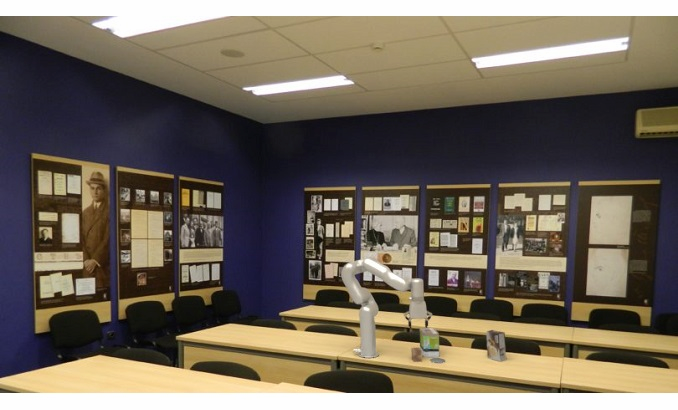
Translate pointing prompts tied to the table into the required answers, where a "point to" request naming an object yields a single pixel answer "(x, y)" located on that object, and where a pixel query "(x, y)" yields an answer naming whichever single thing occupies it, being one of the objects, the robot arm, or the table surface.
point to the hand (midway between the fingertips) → (418, 327)
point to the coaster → (437, 360)
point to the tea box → (429, 342)
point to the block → (416, 354)
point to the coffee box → (496, 345)
